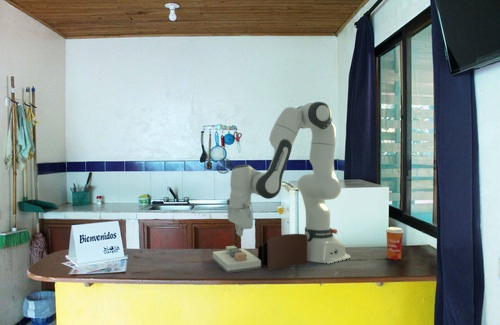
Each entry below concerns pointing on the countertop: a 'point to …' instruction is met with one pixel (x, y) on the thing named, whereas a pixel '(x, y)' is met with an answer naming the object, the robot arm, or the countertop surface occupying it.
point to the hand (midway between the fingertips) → (239, 235)
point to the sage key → (229, 249)
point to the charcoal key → (233, 251)
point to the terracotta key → (240, 256)
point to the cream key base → (234, 266)
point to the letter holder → (283, 251)
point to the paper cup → (394, 242)
